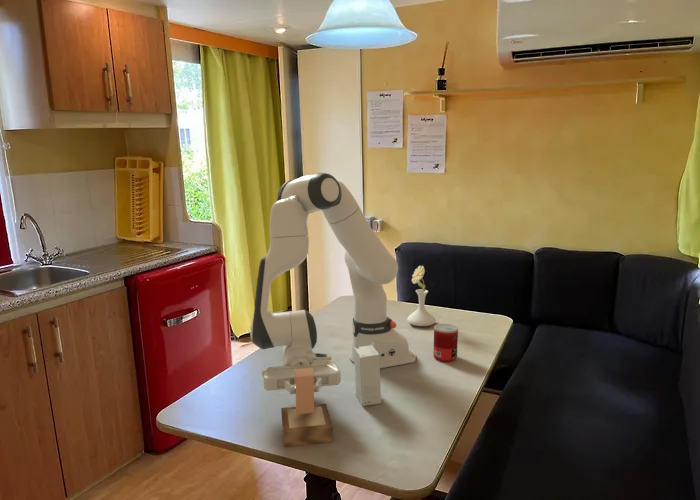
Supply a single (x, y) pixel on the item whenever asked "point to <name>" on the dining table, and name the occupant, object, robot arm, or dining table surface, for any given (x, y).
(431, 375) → the dining table surface
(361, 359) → the skincare box
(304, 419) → the plinth
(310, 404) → the terracotta block
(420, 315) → the flower in vase
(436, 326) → the canned food
